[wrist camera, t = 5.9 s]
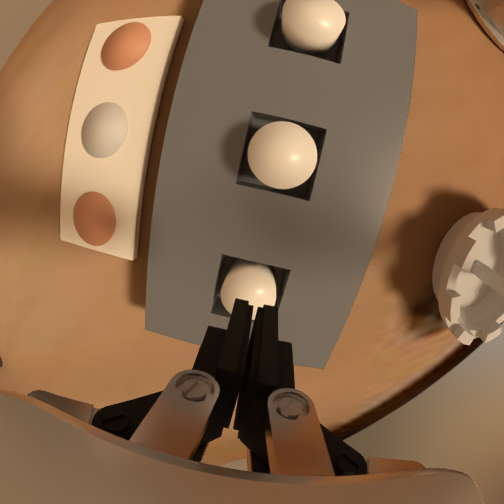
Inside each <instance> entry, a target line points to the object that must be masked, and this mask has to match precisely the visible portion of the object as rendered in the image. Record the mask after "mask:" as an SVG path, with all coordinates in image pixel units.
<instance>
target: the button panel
mask: <svg viewBox="0 0 504 504" xmlns="http://www.w3.org/2000/svg"><path fill="white" fill-rule="evenodd" d="M334 1H335V2H337V3H338V4H339V5H340V6H341V8H342V9H343V11H344V13H345V17H346V23H345V26H344V28H343V30H342V31H341V33H340V35H339V37H338V38H337V40H336V42H335V44H334V45H333V47H332V48H331V49H330V50H329V51H327V52H325V53H322V54H318V55H307V54H303V53H300V52H297V51H295V50H294V49H292V48H291V47H290V46H288V45H287V44H286V42H285V41H284V39H283V37H282V33H281V26H282V9H283V5H284V3H285V2H286V0H203V3H202V6H201V8H200V11H199V14H198V16H197V19H196V22H195V25H194V28H193V31H192V34H191V37H190V40H189V43H188V46H187V50H186V53H185V56H184V60H183V63H182V66H181V70H180V74H179V77H178V81H177V85H176V89H175V93H174V97H173V101H172V105H171V109H170V114H169V118H168V123H167V128H166V132H165V137H164V143H163V148H162V153H161V159H160V165H159V171H158V177H157V183H156V190H155V197H154V205H153V213H152V222H151V231H150V241H149V253H148V266H147V282H146V307H145V330H148V331H152V332H155V333H158V334H161V335H165V336H168V337H172V338H175V339H179V340H182V341H186V342H190V343H193V344H197V345H201V344H202V341H203V339H204V336H205V333H206V331H207V328H208V326H213V327H217V328H222V329H226V330H227V328H228V324H229V320H230V317H231V314H230V313H229V312H228V311H227V310H226V309H225V307H224V305H223V303H222V301H221V288H222V285H223V283H224V280H225V278H226V275H227V272H228V270H229V268H230V266H231V264H232V263H233V262H234V261H235V260H237V259H238V258H240V259H245V260H249V261H253V262H258V263H262V264H267V265H271V266H272V267H273V269H274V271H275V275H276V302H275V305H274V306H275V307H278V340H280V341H285V342H291V343H292V351H293V365H298V366H304V367H311V368H318V369H324V367H325V365H326V363H327V361H328V359H329V357H330V355H331V353H332V351H333V349H334V346H335V344H336V342H337V340H338V338H339V336H340V333H341V331H342V329H343V327H344V324H345V322H346V320H347V317H348V315H349V313H350V310H351V308H352V306H353V303H354V301H355V298H356V296H357V293H358V291H359V288H360V285H361V283H362V280H363V278H364V275H365V272H366V269H367V267H368V264H369V261H370V258H371V255H372V253H373V250H374V247H375V244H376V241H377V238H378V235H379V231H380V228H381V225H382V222H383V218H384V215H385V212H386V208H387V205H388V201H389V198H390V194H391V190H392V186H393V183H394V179H395V175H396V171H397V166H398V162H399V158H400V153H401V149H402V144H403V139H404V134H405V129H406V123H407V117H408V111H409V105H410V98H411V91H412V83H413V75H414V65H415V54H416V38H417V10H416V9H414V8H412V7H410V6H407V5H405V4H403V3H401V2H399V1H397V0H334ZM277 121H286V122H291V123H294V124H297V125H299V126H300V127H302V128H303V129H305V130H306V131H307V132H308V133H309V134H310V136H311V137H312V139H313V140H314V142H315V145H316V149H317V163H316V166H315V169H314V171H313V173H312V174H311V176H310V177H309V178H308V179H307V180H306V181H305V182H304V183H302V184H301V185H299V186H296V187H294V188H289V189H277V188H273V187H270V186H268V185H266V184H264V183H262V182H261V181H260V180H259V179H258V178H257V177H256V176H255V175H254V173H253V172H252V170H251V168H250V166H249V162H248V147H249V143H250V141H251V139H252V137H253V136H254V134H255V133H256V132H257V131H258V130H259V129H260V128H262V127H263V126H265V125H267V124H269V123H272V122H277ZM253 324H254V320H252V322H251V329H250V335H251V332H252V328H253ZM249 339H250V336H249Z"/></svg>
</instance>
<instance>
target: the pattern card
mask: <svg viewBox="0 0 504 504" xmlns="http://www.w3.org/2000/svg"><path fill="white" fill-rule="evenodd" d="M183 23H184V19H183V18H182V16H160V17H146V18H136V19H127V20H120V21H113V22H107V23H102V24H97V26H96V28H95V31H94V34H93V36H92V39H91V42H90V45H89V48H88V51H87V54H86V57H85V60H84V63H83V66H82V70H81V73H80V77H79V81H78V84H77V88H76V92H75V97H74V101H73V106H72V110H71V116H70V121H69V126H68V132H67V139H66V146H65V153H64V162H63V172H62V185H61V204H60V240H63V241H66V242H69V243H73V244H76V245H79V246H83V247H86V248H89V249H93V250H96V251H100V252H103V253H107V254H110V255H114V256H117V257H121V258H125V259H128V260H132V261H133V260H135V259H136V258H137V257H138V245H139V232H140V222H141V212H142V203H143V195H144V188H145V180H146V174H147V167H148V161H149V155H150V149H151V144H152V139H153V133H154V128H155V124H156V119H157V114H158V110H159V106H160V101H161V97H162V93H163V89H164V85H165V81H166V78H167V74H168V70H169V67H170V63H171V60H172V57H173V53H174V50H175V47H176V44H177V41H178V38H179V35H180V32H181V29H182V26H183Z"/></svg>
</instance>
